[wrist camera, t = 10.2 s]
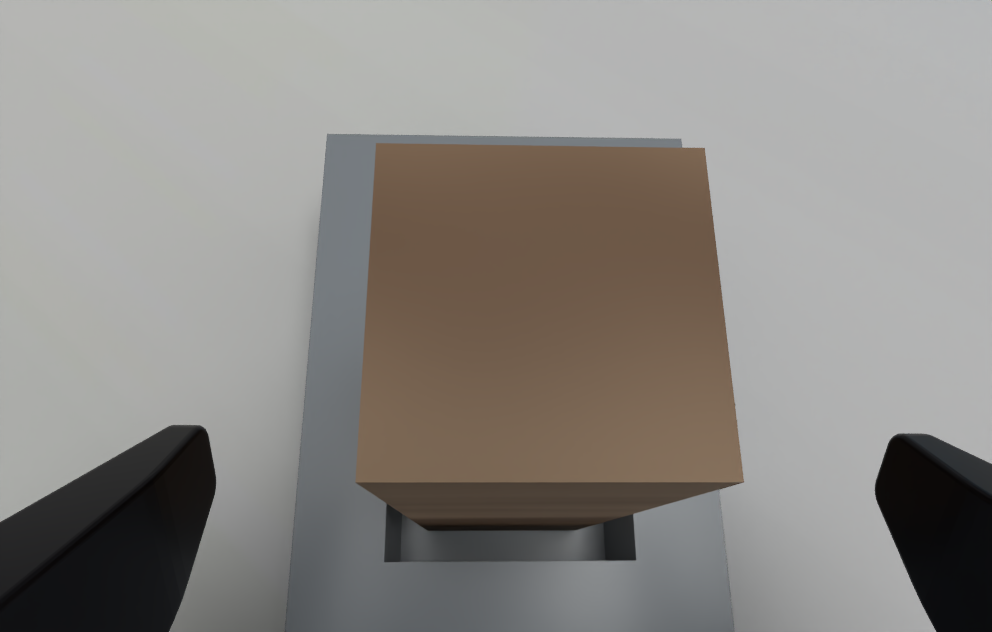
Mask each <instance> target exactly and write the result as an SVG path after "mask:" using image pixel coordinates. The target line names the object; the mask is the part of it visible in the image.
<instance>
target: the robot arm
mask: <svg viewBox="0 0 992 632" xmlns="http://www.w3.org/2000/svg"><path fill="white" fill-rule="evenodd" d="M215 490H216V475H215V469H214V464H213V458H212V453H211V447H210V442H209V437H208V433H207V431H206V429H205V428H203V427H202V426H200V425H172V426H169V427H167V428H165V429H163V430H162V431H160V432H158V433H156V434H155V435H153V436H151V437H149V438H148V439H146V440H144V441H142V442H140V443H139V444H137V445H135V446H133V447H132V448H130V449H128V450H126V451H125V452H123V453H121V454H119V455H118V456H116V457H114V458H112V459H111V460H109V461H107V462H105V463H104V464H102V465H100V466H98V467H96V468H95V469H93V470H91V471H89V472H88V473H86V474H84V475H82V476H81V477H79V478H77V479H75V480H74V481H72V482H70V483H68V484H67V485H65V486H63V487H61V488H60V489H58V490H56V491H54V492H53V493H51V494H49V495H47V496H45V497H44V498H42V499H40V500H38V501H37V502H35V503H33V504H31V505H30V506H28V507H26V508H24V509H23V510H21V511H19V512H17V513H16V514H14V515H12V516H10V517H9V518H7V519H5V520H3V521H1V522H0V632H169V630H170V628H171V626H172V624H173V621H174V619H175V616H176V614H177V611H178V609H179V606H180V604H181V602H182V599H183V596H184V593H185V590H186V587H187V584H188V580H189V577H190V574H191V571H192V567H193V564H194V561H195V557H196V554H197V551H198V548H199V544H200V541H201V538H202V535H203V531H204V528H205V525H206V521H207V518H208V515H209V512H210V508H211V505H212V502H213V499H214V495H215ZM875 495H876V500H877V503H878V505H879V508H880V510H881V512H882V515H883V517H884V519H885V522H886V524H887V526H888V528H889V531H890V533H891V535H892V538H893V540H894V542H895V545H896V547H897V549H898V552H899V554H900V556H901V559H902V561H903V563H904V565H905V568H906V570H907V572H908V575H909V577H910V579H911V582H912V584H913V586H914V589H915V591H916V593H917V595H918V597H919V599H920V601H921V603H922V606H923V607H924V609H925V611H926V613H927V615H928V617H929V619H930V621H931V623H932V624H933V626H934V628H935V630H936V632H992V464H990V463H988V462H986V461H984V460H982V459H980V458H978V457H976V456H974V455H971V454H969V453H967V452H965V451H963V450H961V449H959V448H957V447H955V446H952V445H950V444H948V443H946V442H944V441H942V440H940V439H938V438H936V437H933V436H931V435H928V434H897V435H895V436H893V437H892V438H891V440H890V441H889V443H888V446H887V449H886V452H885V455H884V458H883V461H882V464H881V467H880V470H879V473H878V476H877V479H876V484H875Z"/></svg>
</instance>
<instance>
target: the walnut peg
mask: <svg viewBox="0 0 992 632" xmlns="http://www.w3.org/2000/svg"><path fill="white" fill-rule="evenodd" d="M743 482H744V479H743V471H742V462H741V454H740V445H739V437H738V428H737V420H736V411H735V403H734V394H733V386H732V377H731V369H730V360H729V352H728V343H727V335H726V326H725V318H724V309H723V301H722V292H721V284H720V275H719V267H718V258H717V250H716V241H715V233H714V224H713V216H712V207H711V199H710V190H709V182H708V173H707V165H706V156H705V148H665V147H599V146H533V145H467V144H402V143H376V152H375V168H374V185H373V201H372V218H371V234H370V251H369V267H368V283H367V300H366V316H365V333H364V349H363V366H362V382H361V398H360V415H359V431H358V448H357V464H356V481H355V483H357V484H358V485H360V486H361V487H363V488H364V489H366V490H367V491H369V492H370V493H372V494H373V495H375V496H376V497H378V498H379V499H381V500H382V501H384V502H385V503H387V504H388V505H390V506H391V507H393V508H394V509H396V510H397V511H399V512H400V513H402V514H403V515H405V516H406V517H408V518H409V519H411V520H412V521H414V522H415V523H417V524H418V525H420V526H421V527H423V528H424V529H426V530H427V531H571V530H579V529H582V528H586V527H589V526H593V525H596V524H600V523H603V522H607V521H610V520H614V519H617V518H621V517H624V516H628V515H631V514H635V513H638V512H642V511H645V510H649V509H652V508H656V507H659V506H663V505H666V504H670V503H673V502H677V501H680V500H684V499H687V498H691V497H694V496H698V495H701V494H705V493H708V492H712V491H715V490H719V489H722V488H726V487H729V486H733V485H736V484H740V483H743Z"/></svg>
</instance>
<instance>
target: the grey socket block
mask: <svg viewBox="0 0 992 632" xmlns="http://www.w3.org/2000/svg"><path fill="white" fill-rule="evenodd" d="M376 143H402V144H467V145H533V146H599V147H665V148H682V142H681V139H654V138H581V137H507V136H434V135H360V134H327V142H326V154H325V165H324V177H323V189H322V200H321V212H320V224H319V236H318V247H317V259H316V271H315V283H314V294H313V306H312V318H311V330H310V341H309V353H308V365H307V377H306V388H305V400H304V412H303V424H302V435H301V447H300V459H299V471H298V482H297V494H296V506H295V517H294V529H293V541H292V553H291V564H290V576H289V588H288V600H287V611H286V623H285V632H734V623H733V613H732V604H731V595H730V586H729V576H728V567H727V558H726V549H725V539H724V530H723V521H722V512H721V502H720V493H719V490H715V491H712V492H708V493H705V494H701V495H698V496H694V497H691V498H687V499H684V500H680V501H677V502H673V503H670V504H666V505H663V506H659V507H656V508H652V509H649V510H645V511H642V512H638V513H635V514H631V515H628V516H624V517H621V518H617V519H614V520H610V521H607V522H603V523H600V524H596V525H593V526H589V527H586V528H582V529H579V530H571V531H427V530H426V529H424V528H423V527H421V526H420V525H418V524H417V523H415V522H414V521H412V520H411V519H409V518H408V517H406V516H405V515H403V514H402V513H400V512H399V511H397V510H396V509H394V508H393V507H391V506H390V505H388V504H387V503H385V502H384V501H382V500H381V499H379V498H378V497H376V496H375V495H373V494H372V493H370V492H369V491H367V490H366V489H364V488H363V487H361V486H360V485H358V484H357V483H355V481H356V464H357V448H358V431H359V415H360V398H361V382H362V366H363V349H364V333H365V316H366V300H367V283H368V267H369V251H370V234H371V218H372V201H373V185H374V168H375V152H376Z"/></svg>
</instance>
